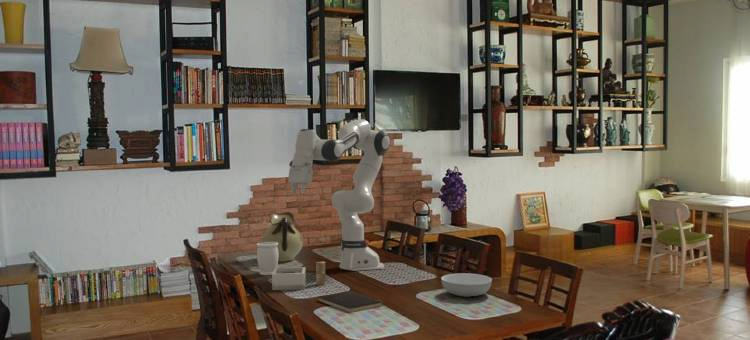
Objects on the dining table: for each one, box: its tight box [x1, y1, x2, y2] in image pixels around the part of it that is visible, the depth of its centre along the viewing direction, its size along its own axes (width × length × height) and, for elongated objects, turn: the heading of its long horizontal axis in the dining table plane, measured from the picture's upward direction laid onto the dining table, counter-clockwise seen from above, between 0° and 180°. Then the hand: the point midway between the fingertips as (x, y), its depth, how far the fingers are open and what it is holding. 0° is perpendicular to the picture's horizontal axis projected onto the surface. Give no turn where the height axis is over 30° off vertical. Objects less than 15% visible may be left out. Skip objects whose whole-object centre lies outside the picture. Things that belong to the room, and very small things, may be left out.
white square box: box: [271, 266, 307, 291], centre depth 292 cm, size 14×14×7 cm
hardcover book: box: [317, 290, 384, 313], centre depth 261 cm, size 16×23×2 cm
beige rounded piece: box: [260, 211, 304, 263], centre depth 355 cm, size 22×24×25 cm
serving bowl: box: [440, 272, 493, 298], centre depth 273 cm, size 21×21×7 cm
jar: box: [256, 242, 279, 276], centre depth 319 cm, size 11×10×15 cm
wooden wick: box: [315, 261, 326, 286], centre depth 295 cm, size 4×2×10 cm, turn 94°
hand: (297, 193), depth 297 cm, fingers open, 8 cm apart
